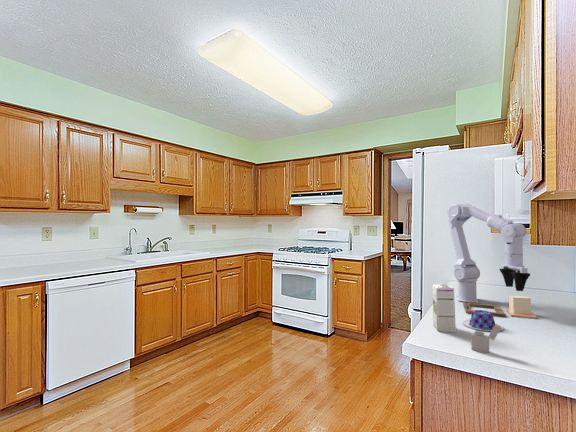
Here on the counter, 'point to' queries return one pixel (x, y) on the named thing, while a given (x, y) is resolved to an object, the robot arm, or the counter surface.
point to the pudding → (481, 320)
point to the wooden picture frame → (498, 310)
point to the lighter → (483, 339)
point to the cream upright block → (520, 304)
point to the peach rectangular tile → (521, 314)
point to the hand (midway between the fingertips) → (514, 288)
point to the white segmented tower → (444, 308)
